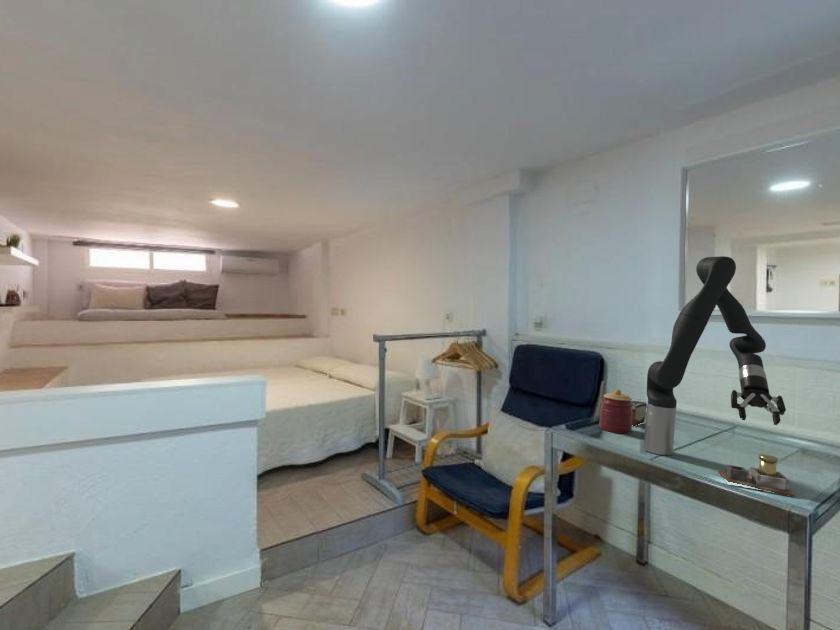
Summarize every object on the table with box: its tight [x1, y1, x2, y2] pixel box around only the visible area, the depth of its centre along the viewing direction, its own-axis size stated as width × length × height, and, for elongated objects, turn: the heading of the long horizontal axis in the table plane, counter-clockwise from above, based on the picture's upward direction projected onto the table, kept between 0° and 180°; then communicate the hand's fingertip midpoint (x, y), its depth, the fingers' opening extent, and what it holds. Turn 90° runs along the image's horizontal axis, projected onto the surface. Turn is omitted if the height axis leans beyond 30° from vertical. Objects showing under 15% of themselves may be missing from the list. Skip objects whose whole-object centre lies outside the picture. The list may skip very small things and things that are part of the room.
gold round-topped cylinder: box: [758, 453, 779, 477], centre depth 132 cm, size 5×5×8 cm
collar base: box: [717, 464, 795, 497], centre depth 133 cm, size 16×12×4 cm
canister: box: [598, 388, 634, 435], centre depth 188 cm, size 13×13×18 cm
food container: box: [631, 400, 648, 427], centre depth 200 cm, size 12×6×10 cm, turn 130°
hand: (760, 421), depth 141 cm, fingers open, 8 cm apart
